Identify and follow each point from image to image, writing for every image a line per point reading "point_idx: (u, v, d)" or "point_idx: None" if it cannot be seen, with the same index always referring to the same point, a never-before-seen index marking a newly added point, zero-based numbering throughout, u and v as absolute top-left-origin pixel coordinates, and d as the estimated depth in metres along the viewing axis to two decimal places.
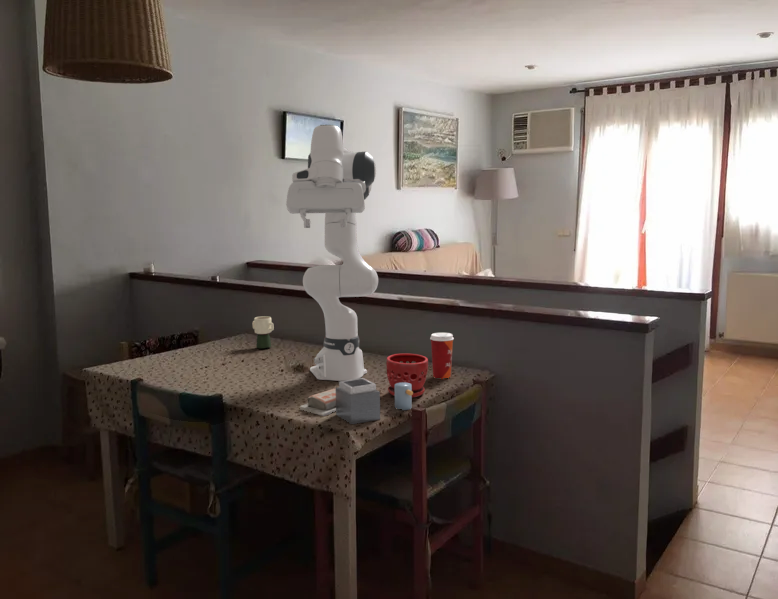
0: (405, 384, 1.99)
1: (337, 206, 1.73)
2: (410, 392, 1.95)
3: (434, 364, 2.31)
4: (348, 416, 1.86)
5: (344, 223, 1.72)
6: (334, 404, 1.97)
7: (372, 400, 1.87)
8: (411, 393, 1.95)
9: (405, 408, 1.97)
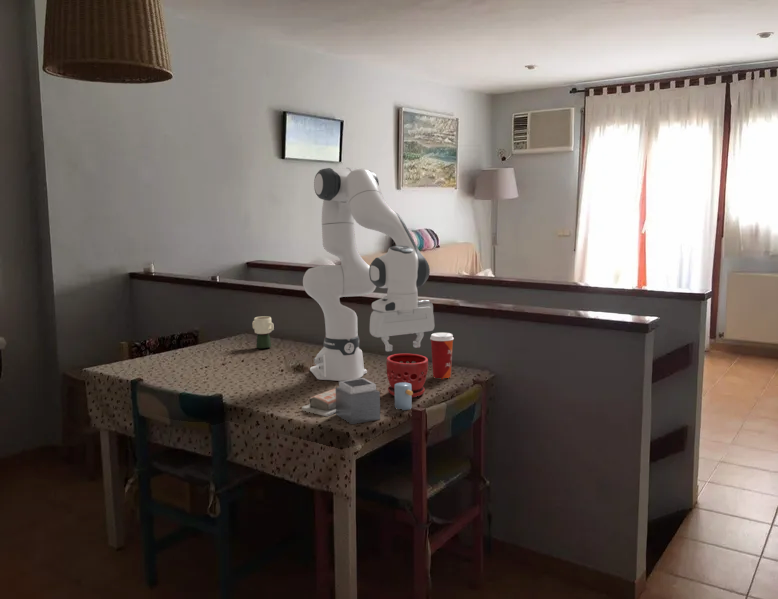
0: (405, 384, 1.99)
1: (415, 332, 1.96)
2: (410, 392, 1.95)
3: (434, 364, 2.31)
4: (348, 416, 1.86)
5: (418, 346, 1.98)
6: None
7: (372, 400, 1.87)
8: (411, 393, 1.95)
9: (405, 408, 1.97)
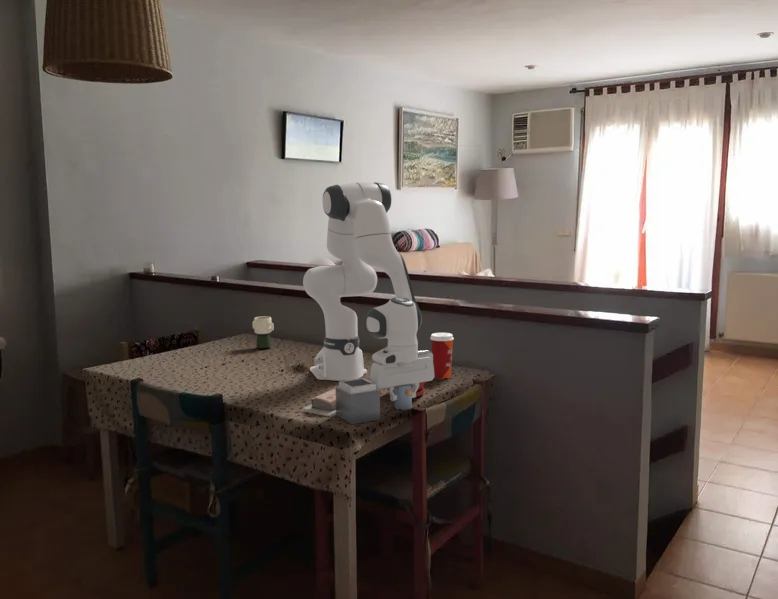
0: None
1: (415, 382, 1.99)
2: (410, 392, 1.95)
3: (434, 364, 2.31)
4: (348, 416, 1.86)
5: (414, 396, 2.00)
6: None
7: (372, 400, 1.87)
8: (411, 393, 1.95)
9: (405, 408, 1.97)
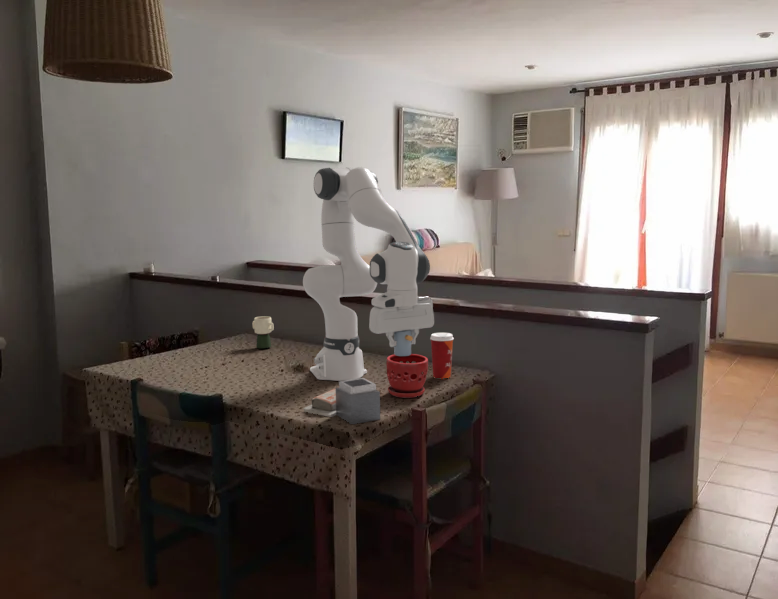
0: (405, 330, 1.96)
1: (414, 328, 1.96)
2: (410, 337, 1.92)
3: (434, 364, 2.31)
4: (348, 416, 1.86)
5: (414, 343, 1.98)
6: None
7: (372, 400, 1.87)
8: (411, 338, 1.93)
9: (405, 354, 1.95)
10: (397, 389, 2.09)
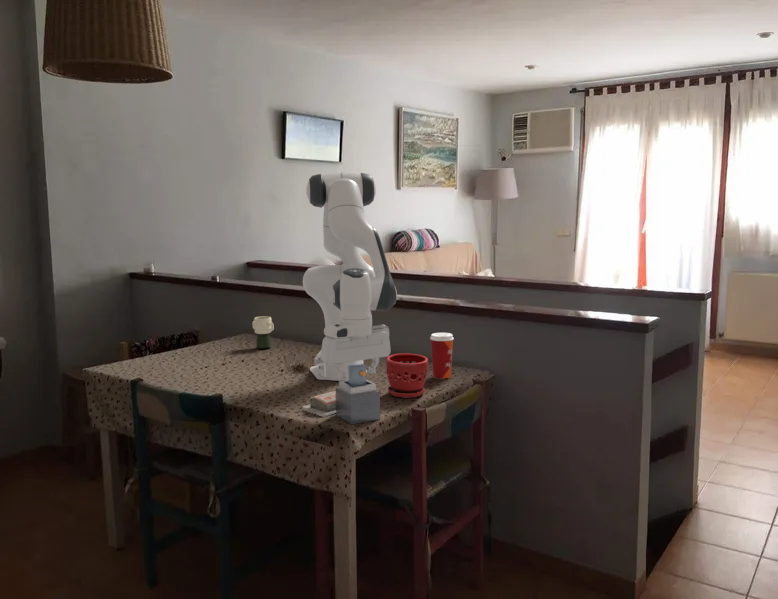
0: (359, 365, 1.89)
1: (369, 358, 1.89)
2: (364, 373, 1.85)
3: (434, 364, 2.31)
4: (348, 416, 1.86)
5: (374, 372, 1.91)
6: None
7: (372, 400, 1.87)
8: (365, 374, 1.86)
9: None
10: (397, 389, 2.09)
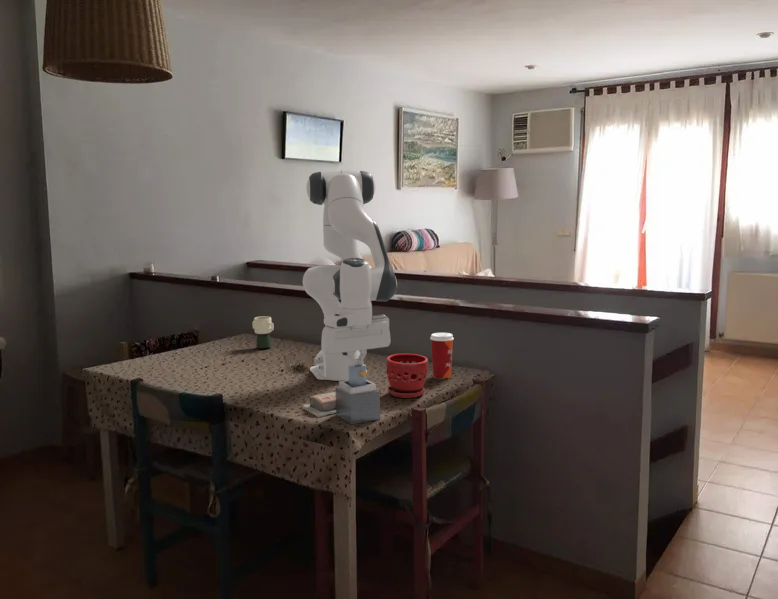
0: None
1: (369, 348, 1.88)
2: (364, 373, 1.85)
3: (434, 364, 2.31)
4: (348, 416, 1.86)
5: (361, 364, 1.89)
6: (334, 406, 1.95)
7: (372, 400, 1.87)
8: (365, 374, 1.86)
9: None
10: (397, 389, 2.09)
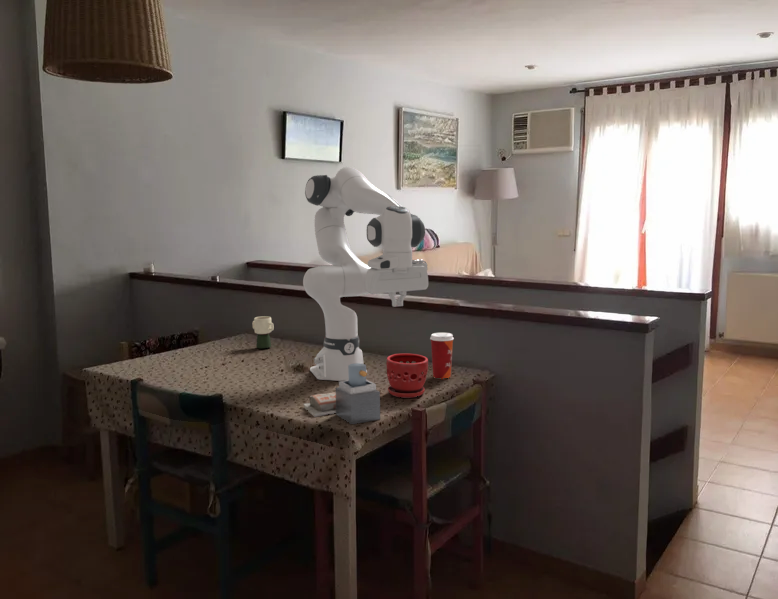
0: (359, 365, 1.89)
1: (409, 290, 2.04)
2: (364, 373, 1.85)
3: (434, 364, 2.31)
4: (348, 416, 1.86)
5: (401, 304, 2.04)
6: (331, 406, 1.95)
7: (372, 400, 1.87)
8: (365, 374, 1.86)
9: None
10: (397, 389, 2.09)
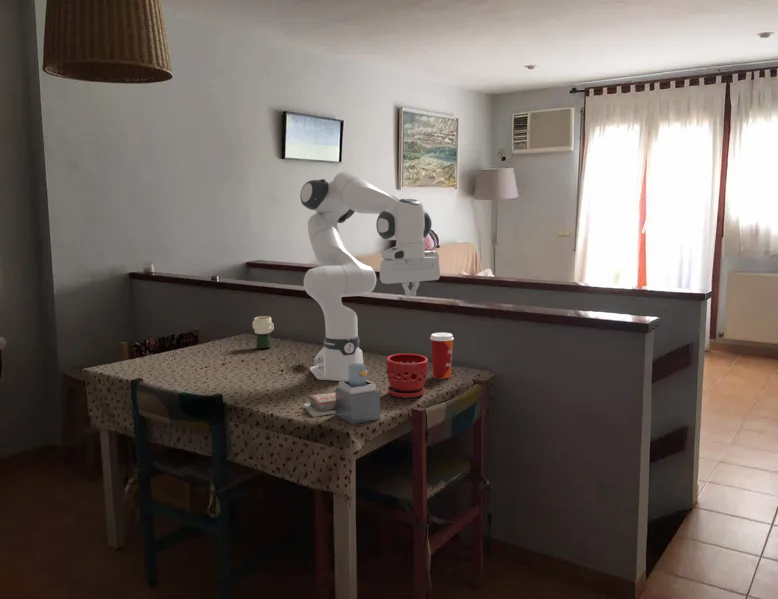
0: (359, 365, 1.89)
1: (422, 280, 2.10)
2: (364, 373, 1.85)
3: (434, 364, 2.31)
4: (348, 416, 1.86)
5: (414, 294, 2.10)
6: (331, 407, 1.95)
7: (372, 400, 1.87)
8: (365, 374, 1.86)
9: None
10: (397, 389, 2.09)
